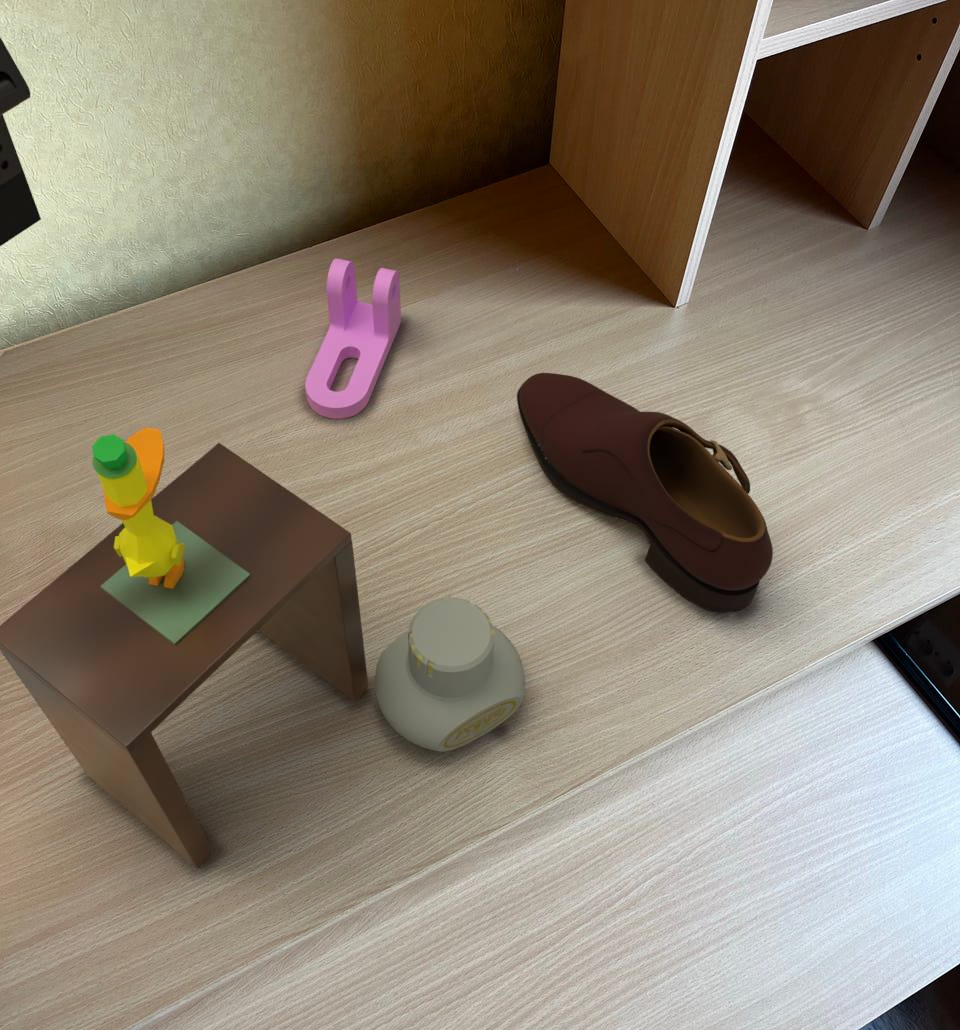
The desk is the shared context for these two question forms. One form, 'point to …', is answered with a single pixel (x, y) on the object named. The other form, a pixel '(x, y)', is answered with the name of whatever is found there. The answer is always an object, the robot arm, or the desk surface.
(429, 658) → the air freshener
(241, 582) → the shelf
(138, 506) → the toy figure
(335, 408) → the bracket
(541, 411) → the dress shoe
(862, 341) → the desk surface
